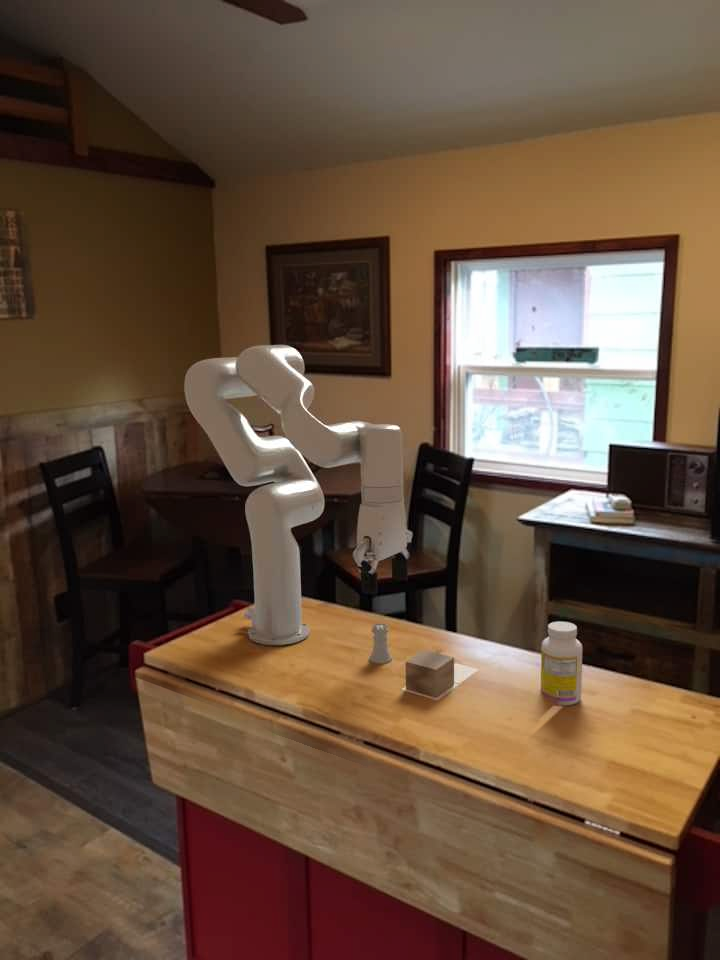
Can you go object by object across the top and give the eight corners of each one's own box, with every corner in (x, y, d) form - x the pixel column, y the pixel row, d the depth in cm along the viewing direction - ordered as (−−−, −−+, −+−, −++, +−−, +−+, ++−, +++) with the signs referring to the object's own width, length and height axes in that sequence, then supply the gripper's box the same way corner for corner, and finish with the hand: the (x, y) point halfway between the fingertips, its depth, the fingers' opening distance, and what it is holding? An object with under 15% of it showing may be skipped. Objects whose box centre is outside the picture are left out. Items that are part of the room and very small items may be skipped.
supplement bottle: (554, 686, 141) (556, 616, 138) (588, 697, 136) (591, 625, 134) (532, 698, 136) (534, 626, 134) (567, 711, 132) (569, 636, 129)
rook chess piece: (391, 671, 148) (390, 630, 146) (367, 670, 149) (366, 629, 147) (394, 661, 152) (393, 621, 151) (370, 659, 153) (370, 620, 151)
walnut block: (405, 689, 138) (405, 661, 137) (424, 676, 142) (424, 649, 141) (436, 697, 134) (436, 669, 133) (454, 684, 139) (454, 657, 138)
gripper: (392, 484, 153) (394, 571, 156) (336, 500, 139) (339, 596, 142) (426, 487, 149) (427, 577, 152) (371, 505, 135) (374, 603, 138)
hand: (385, 586), depth 147 cm, fingers open, 9 cm apart
